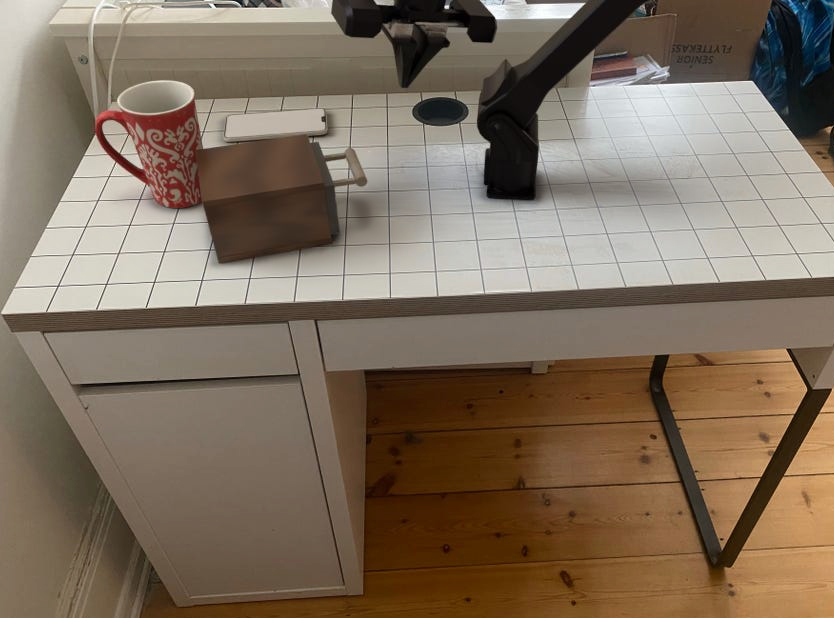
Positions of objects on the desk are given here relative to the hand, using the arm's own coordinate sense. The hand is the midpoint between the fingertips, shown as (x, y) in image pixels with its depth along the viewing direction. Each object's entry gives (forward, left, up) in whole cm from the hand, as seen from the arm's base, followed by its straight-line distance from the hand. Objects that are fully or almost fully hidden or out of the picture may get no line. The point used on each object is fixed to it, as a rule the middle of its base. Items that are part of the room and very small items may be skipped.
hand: (403, 86), depth 92 cm
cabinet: (+16, +12, -13) cm, 24 cm away
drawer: (+12, +10, -12) cm, 20 cm away
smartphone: (+21, -13, -13) cm, 28 cm away
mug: (+31, +6, -14) cm, 34 cm away
